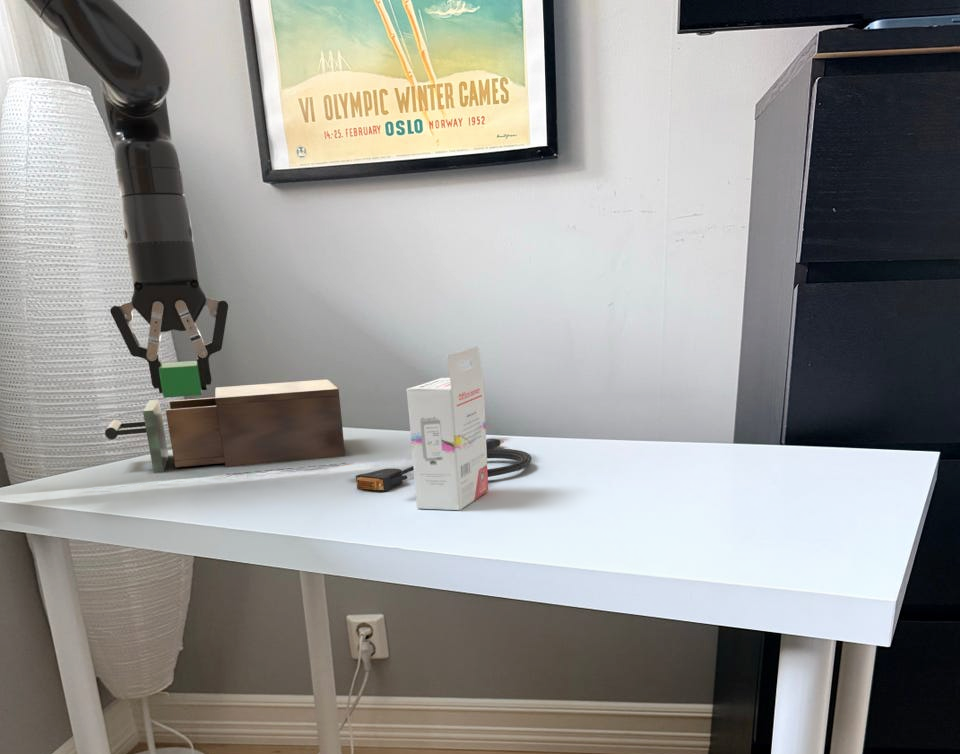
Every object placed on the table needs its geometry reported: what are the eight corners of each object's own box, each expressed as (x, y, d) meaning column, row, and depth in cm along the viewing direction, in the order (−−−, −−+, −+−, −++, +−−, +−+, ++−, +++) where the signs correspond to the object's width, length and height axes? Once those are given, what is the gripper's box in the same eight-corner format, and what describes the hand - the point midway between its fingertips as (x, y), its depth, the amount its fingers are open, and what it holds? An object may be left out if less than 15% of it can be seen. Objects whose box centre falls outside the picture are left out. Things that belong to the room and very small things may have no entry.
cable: (583, 452, 116) (583, 440, 115) (453, 501, 94) (452, 486, 94) (492, 445, 123) (491, 434, 122) (352, 489, 101) (350, 476, 101)
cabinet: (226, 474, 113) (215, 398, 109) (225, 457, 124) (215, 387, 121) (346, 463, 116) (338, 388, 113) (334, 447, 127) (327, 379, 124)
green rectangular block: (163, 397, 110) (158, 368, 109) (167, 391, 117) (162, 363, 116) (201, 395, 111) (197, 365, 110) (202, 388, 118) (198, 360, 117)
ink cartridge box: (446, 490, 99) (437, 346, 94) (489, 491, 97) (483, 345, 92) (413, 509, 92) (401, 354, 86) (460, 511, 90) (451, 353, 84)
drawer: (110, 477, 110) (98, 414, 107) (119, 460, 120) (109, 403, 118) (268, 462, 114) (260, 401, 111) (263, 447, 124) (256, 392, 122)
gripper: (222, 239, 113) (242, 384, 119) (98, 243, 110) (125, 392, 116) (222, 236, 106) (243, 389, 112) (90, 240, 103) (119, 398, 109)
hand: (183, 390), depth 114 cm, fingers closed on green rectangular block, 4 cm apart
